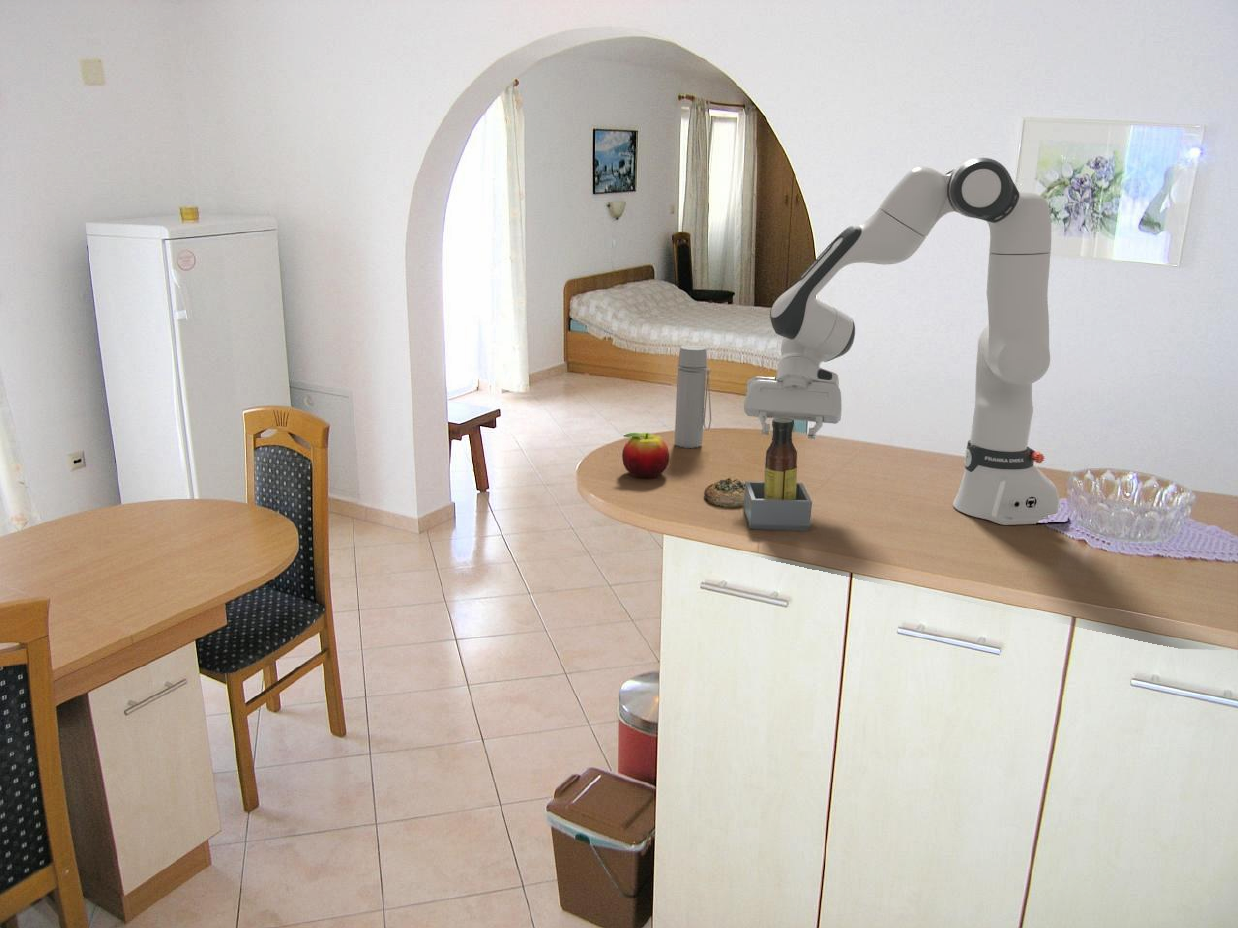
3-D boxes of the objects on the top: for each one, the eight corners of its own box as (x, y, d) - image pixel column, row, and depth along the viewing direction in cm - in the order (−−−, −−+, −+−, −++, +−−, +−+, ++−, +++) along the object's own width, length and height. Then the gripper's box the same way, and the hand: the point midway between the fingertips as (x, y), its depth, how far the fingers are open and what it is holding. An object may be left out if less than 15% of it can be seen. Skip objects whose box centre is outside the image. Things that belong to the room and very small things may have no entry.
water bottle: (669, 447, 238) (673, 348, 231) (679, 439, 245) (684, 343, 238) (704, 452, 235) (710, 352, 228) (713, 444, 242) (719, 347, 235)
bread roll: (711, 487, 209) (715, 466, 207) (759, 501, 206) (764, 480, 204) (695, 504, 199) (699, 483, 197) (746, 519, 196) (751, 497, 194)
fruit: (673, 481, 212) (674, 438, 209) (625, 482, 211) (626, 439, 208) (663, 467, 222) (665, 425, 220) (617, 468, 221) (618, 426, 218)
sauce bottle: (791, 511, 192) (799, 416, 187) (797, 522, 186) (805, 423, 181) (759, 510, 192) (766, 415, 187) (763, 521, 186) (770, 423, 181)
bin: (799, 510, 196) (802, 482, 194) (809, 530, 185) (812, 501, 183) (743, 508, 196) (745, 481, 194) (749, 529, 185) (751, 499, 183)
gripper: (747, 367, 203) (737, 422, 197) (845, 375, 197) (838, 432, 191) (749, 384, 208) (739, 438, 202) (844, 391, 203) (837, 447, 197)
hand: (788, 435), depth 197 cm, fingers open, 8 cm apart
